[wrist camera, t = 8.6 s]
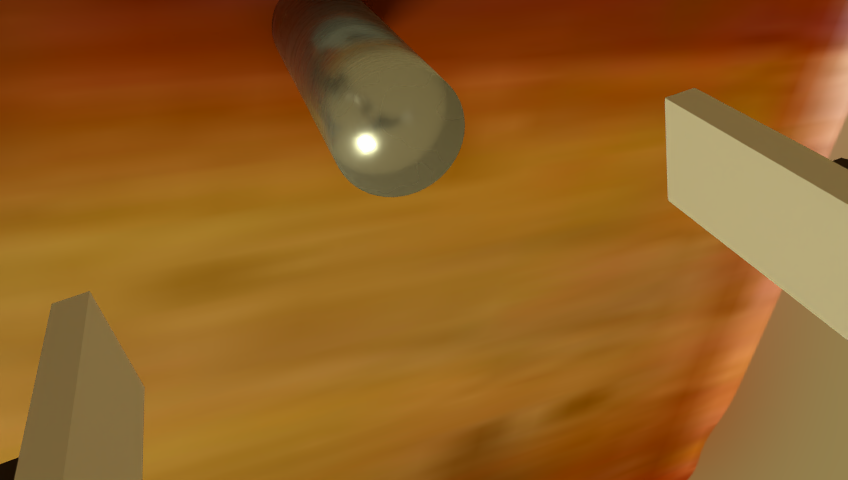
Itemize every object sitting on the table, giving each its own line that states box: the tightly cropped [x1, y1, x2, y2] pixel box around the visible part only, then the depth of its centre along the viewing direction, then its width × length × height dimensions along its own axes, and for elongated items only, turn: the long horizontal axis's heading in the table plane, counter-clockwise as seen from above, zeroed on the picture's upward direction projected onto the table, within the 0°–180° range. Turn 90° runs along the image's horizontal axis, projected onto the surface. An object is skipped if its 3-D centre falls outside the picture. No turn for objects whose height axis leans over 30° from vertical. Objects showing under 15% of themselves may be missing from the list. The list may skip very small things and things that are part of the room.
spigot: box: [272, 0, 465, 197], centre depth 27 cm, size 4×4×12 cm
